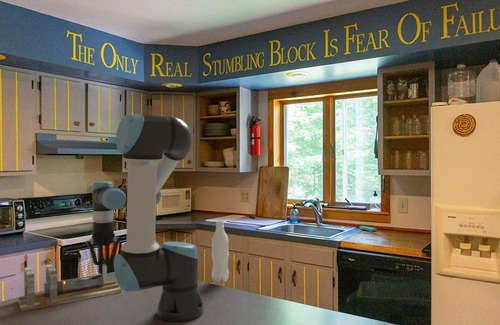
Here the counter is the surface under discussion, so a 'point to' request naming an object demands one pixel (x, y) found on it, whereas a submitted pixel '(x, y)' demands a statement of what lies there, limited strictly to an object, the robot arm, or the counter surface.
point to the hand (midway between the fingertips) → (104, 281)
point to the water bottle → (220, 254)
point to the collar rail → (41, 301)
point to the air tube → (76, 284)
